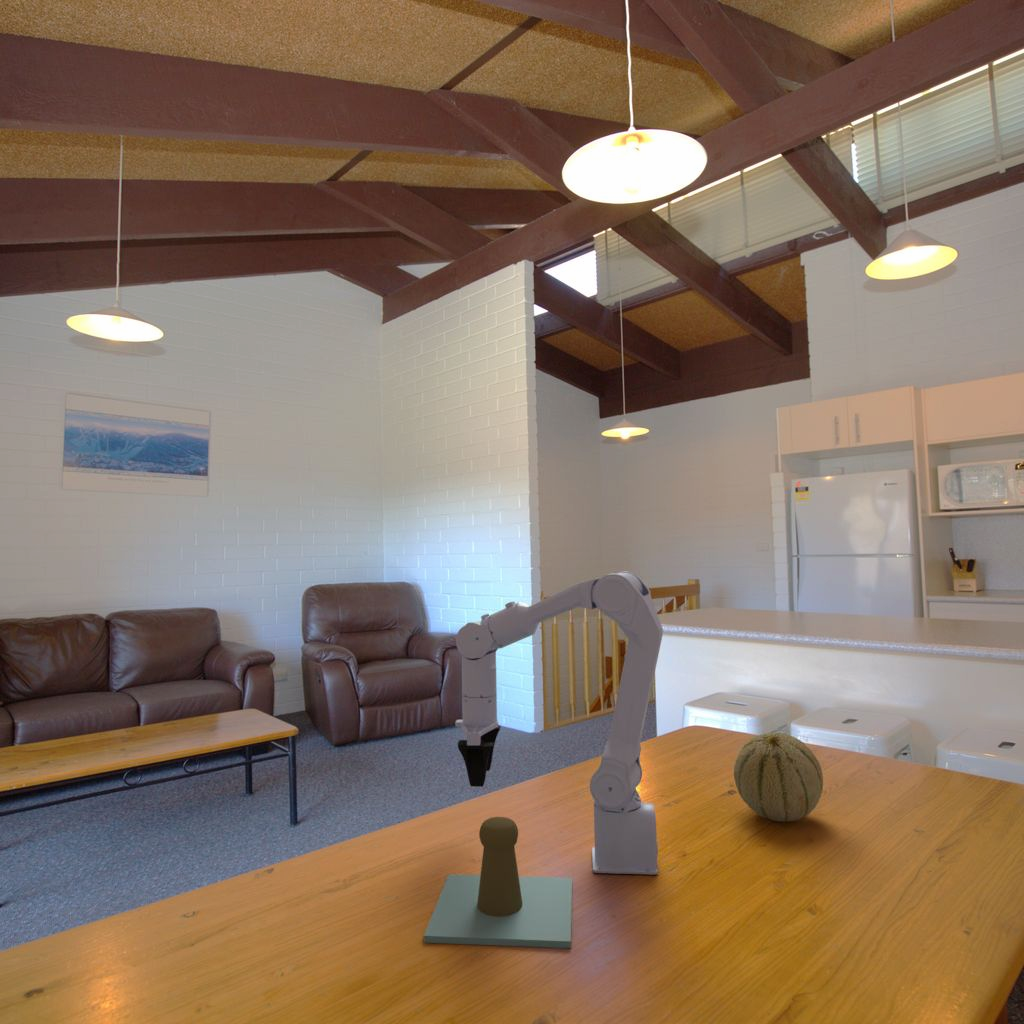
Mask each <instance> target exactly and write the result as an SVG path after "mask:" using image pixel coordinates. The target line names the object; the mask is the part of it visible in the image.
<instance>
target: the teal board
mask: <svg viewBox="0 0 1024 1024" xmlns="http://www.w3.org/2000/svg"><path fill="white" fill-rule="evenodd" d="M480 876H481V874H456V873H455V874H453V873H452V874H451V873H449V874H448V875H447V877H446V880H445V882H444V884H443V887H442V889H441V892H440V895H439V897H438V898H437V899H438V900H437V902H436V905H435V907H434V910H433V912H432V915H431V917H430V919H429V922H428V925H427V928H426V930H425V932H424V935H423V943H427V944H431V943H432V944H451V945H452V944H453V945H455V944H456V945H457V944H458V945H479V946H480V945H482V946H483V945H484V946H500V947H501V946H504V947H506V946H508V947H509V946H510V947H527V948H528V947H531V948H551V949H552V948H553V949H554V948H556V949H571V948H572V919H573V918H572V915H573V913H572V912H573V908H572V907H573V878H572V877H556V876H555V877H553V876H552V877H551V876H550V877H549V876H522V875H521V876H520V875H519V883H520V890H521V897H522V908H521V909H520V910H519V911H518V912H516V913H514V914H511V915H508V916H502V917H499V916H490V915H486V914H484V913H482V912H481V911H480V910H479V909H478V907H477V903H478V894H479V885H480Z"/></svg>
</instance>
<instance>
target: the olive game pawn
mask: <svg viewBox="0 0 1024 1024" xmlns="http://www.w3.org/2000/svg"><path fill="white" fill-rule="evenodd" d="M478 834H479V840H480V843H481V845H482V846H483V849H482V858H481V867H480V868H481V869H480V875H481V876H480V885H479V894H478V903H477V907H478V909H479V910H480V911H481V912H482V913H484V914H486V915H490V916H499V917H502V916H508V915H511V914H514V913H516V912H518V911H519V910H520V909H521V908H522V897H521V890H520V883H519V876H520V875H519V869H518V863H517V856H516V849H515V848H516V847H515V845H516V844H517V843H518V842H517V841H518V837H519V829H518V826H517V824H516V822H515V821H514V820H513V819H511V818H509V817H506V816H494V817H490V818H489V817H488V819H485V820H484V821H483V822H482V823H481V825H480V828H479V833H478Z"/></svg>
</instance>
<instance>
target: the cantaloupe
mask: <svg viewBox="0 0 1024 1024" xmlns="http://www.w3.org/2000/svg"><path fill="white" fill-rule="evenodd" d="M733 778H734V783H735V786H736V788H737V792H738V794H739V796H740V798H741V799H742V801H743V802H744V803H745V804H746V806H747V807H748V808H750V809H751V810H752V812H754V813H756V814H757V815H759V816H760V817H762V818H765V819H768V820H771V821H773V822H781V823H782V822H794V821H798V820H800V819H802V818H803V817H807V816H808V815H810V813H811V812H812V811H813V810H815V808H816V807H817V805H818V803H819V802H820V800H821V797H822V793H823V790H824V789H823V788H824V776H823V771H822V766H821V763H820V761H819V759H818V758H817V757H816V755H815V754H814V752H813V751H812V750H811V749H810V748H809V747H808V746H807V745H806V744H805V743H804V742H803V741H802V740H800V739H799V738H797V737H796V736H792V735H791V734H788V733H780V732H767V733H761V734H758V735H755V736H753V737H752V738H750V739H749V740H748V741H747V742H746V743H745V744H743V746H742V747H741V748H740V750H739V752H738V755H737V757H736V759H735V762H734V767H733Z"/></svg>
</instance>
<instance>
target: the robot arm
mask: <svg viewBox="0 0 1024 1024" xmlns="http://www.w3.org/2000/svg"><path fill="white" fill-rule="evenodd" d="M504 607H505V608H504V609H501V610H498V611H497V612H494V613H492V614H489V613H485V614H483V615H481V616H480V620H479V621H474V622H467V623H466V624H465V625H463V626H462V627H461V628H460V629H459V630H458V631H457V633H456V637H455V644H456V645H455V646H456V648H457V650H458V652H459V653H460V654H461V688H462V689H461V693H462V694H461V696H462V697H461V698H462V701H461V703H462V704H461V706H462V708H461V709H462V711H461V712H462V713H461V714H462V719H456V720H455V724H454V725H455V727H459V728H462V730H463V731H464V732H465V733H466V739H459V740H458V742H457V748H458V751H459V752H460V754H461V756H462V759H463V761H464V764H465V768H466V769H465V770H466V773H467V778H468V783H469V785H470V787H479V788H481V787H484V785H485V782H486V775H487V772H490V770H491V766H492V763H493V762H492V761H493V755H494V748H495V744H496V741H497V737H498V734H499V732H500V730H501V725H499V720H498V711H497V710H498V707H497V705H498V704H497V703H498V701H497V700H498V699H497V695H498V694H497V693H498V692H497V690H498V687H497V659H496V658H497V650H498V649H504V648H506V647H508V646H510V645H512V644H515V643H517V642H520V641H522V640H524V639H527V638H528V637H529V638H530V637H531V636H534V635H535V633H536V631H537V628H538V626H539V625H540V623H543V622H545V621H547V620H550V619H552V618H556V617H557V616H560V615H562V614H563V615H564V614H565V613H567V612H569V611H572V610H575V609H577V608H583V609H587V610H595V609H598V610H599V611H600V612H602V613H603V614H604V615H605V616H607V617H608V618H610V619H611V620H612V621H613V622H615V623H616V624H617V625H618V627H619V628H620V629H621V630H622V632H623V634H625V636H626V637H627V639H628V641H627V647H626V652H625V657H624V661H623V667H622V671H621V676H620V681H619V686H618V691H617V696H616V701H615V703H614V708H613V709H614V711H613V715H612V720H611V724H610V730H609V733H608V734H609V735H608V739H607V742H606V744H605V747H604V750H603V752H602V756H601V760H600V765H599V766H598V768H597V769H596V770H595V771H594V772H593V774H592V776H591V778H590V782H589V791H590V794H591V796H592V798H593V826H594V827H593V829H594V833H593V834H594V835H593V836H594V837H593V839H594V846H592V847H591V858H592V859H591V860H592V864H591V865H592V872H593V873H595V874H616V875H617V874H619V875H621V874H623V875H654V876H655V875H658V874H659V870H658V855H659V846H658V841H657V839H658V838H657V820H656V819H657V818H656V810H655V809H656V808H655V806H654V803H650V802H643V801H642V798H641V797H640V794H639V792H638V790H637V787H638V786H639V785H640V783H641V781H642V778H643V768H642V764H641V761H640V757H641V753H642V746H641V745H642V744H641V741H642V736H643V731H644V726H645V722H646V715H647V711H648V706H649V703H650V697H651V692H652V688H653V684H654V678H655V673H656V668H657V663H658V659H659V653H660V649H661V644H662V639H663V634H664V633H663V632H664V631H663V626H662V623H661V621H660V618H659V616H658V615H659V614H658V613H657V611H656V608H655V604H654V602H653V599H652V595H651V590H650V588H648V586H647V585H646V584H645V583H644V582H643V580H642V579H641V578H640V577H638V575H637V574H635V573H632V572H630V571H619V572H615V573H608V574H604V575H603V576H602V577H597V578H592V579H589V580H584V581H581V582H578V583H575V584H573V585H570V586H569V587H567V588H564V589H562V590H561V591H559V592H556V593H555V594H553V595H550V596H549V597H547V598H544V599H542V600H540V601H537V602H536V603H534V604H532V605H530V604H527V603H525V602H523V601H518V602H516V601H509V602H507V603H505V605H504Z"/></svg>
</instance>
